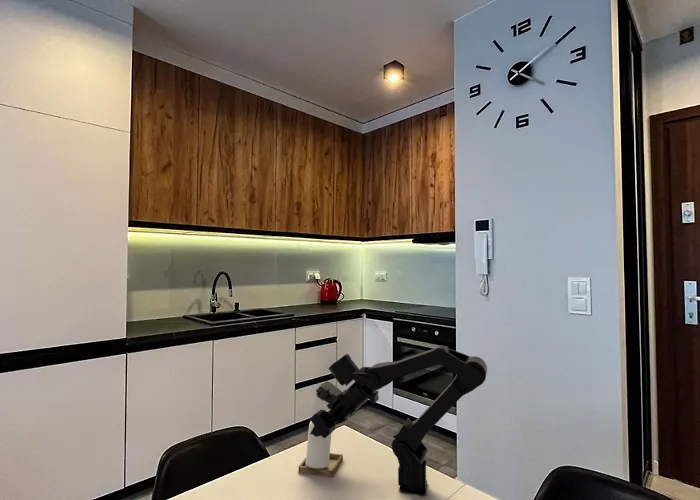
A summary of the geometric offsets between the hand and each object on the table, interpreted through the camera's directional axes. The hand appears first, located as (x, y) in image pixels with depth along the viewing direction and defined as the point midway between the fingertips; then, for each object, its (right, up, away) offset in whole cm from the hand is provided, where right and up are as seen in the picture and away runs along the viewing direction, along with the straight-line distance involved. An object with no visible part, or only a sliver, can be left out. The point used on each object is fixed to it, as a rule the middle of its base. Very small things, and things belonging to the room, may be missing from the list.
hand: (316, 431), depth 108 cm
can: (0, -8, -4) cm, 9 cm away
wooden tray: (+2, -9, -1) cm, 9 cm away
